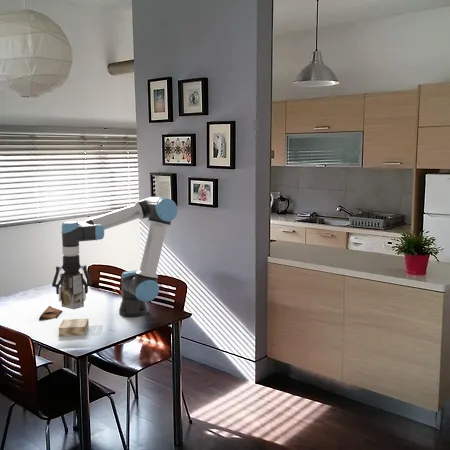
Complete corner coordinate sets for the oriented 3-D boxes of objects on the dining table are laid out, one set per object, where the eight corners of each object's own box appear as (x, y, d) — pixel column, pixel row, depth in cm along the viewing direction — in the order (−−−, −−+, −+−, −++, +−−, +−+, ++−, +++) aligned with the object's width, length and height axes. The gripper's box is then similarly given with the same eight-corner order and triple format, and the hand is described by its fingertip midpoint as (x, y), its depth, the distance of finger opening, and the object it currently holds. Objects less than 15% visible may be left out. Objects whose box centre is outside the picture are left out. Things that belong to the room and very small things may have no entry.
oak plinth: (88, 326, 248) (88, 318, 247) (85, 334, 236) (85, 326, 235) (63, 327, 246) (63, 319, 245) (59, 336, 234) (58, 327, 234)
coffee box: (84, 306, 239) (83, 273, 237) (73, 309, 234) (72, 276, 232) (71, 303, 244) (70, 271, 242) (60, 306, 239) (59, 273, 237)
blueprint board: (103, 327, 250) (103, 324, 250) (100, 336, 236) (100, 334, 236) (61, 328, 247) (61, 326, 247) (56, 339, 233) (56, 336, 233)
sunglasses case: (56, 321, 258) (48, 310, 257) (44, 328, 258) (36, 317, 257) (63, 310, 276) (56, 300, 275) (52, 317, 276) (45, 307, 274)
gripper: (97, 252, 241) (98, 297, 244) (47, 253, 238) (48, 298, 241) (95, 255, 234) (96, 301, 237) (43, 256, 230) (45, 303, 233)
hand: (72, 300), depth 239 cm, fingers closed on coffee box, 10 cm apart
